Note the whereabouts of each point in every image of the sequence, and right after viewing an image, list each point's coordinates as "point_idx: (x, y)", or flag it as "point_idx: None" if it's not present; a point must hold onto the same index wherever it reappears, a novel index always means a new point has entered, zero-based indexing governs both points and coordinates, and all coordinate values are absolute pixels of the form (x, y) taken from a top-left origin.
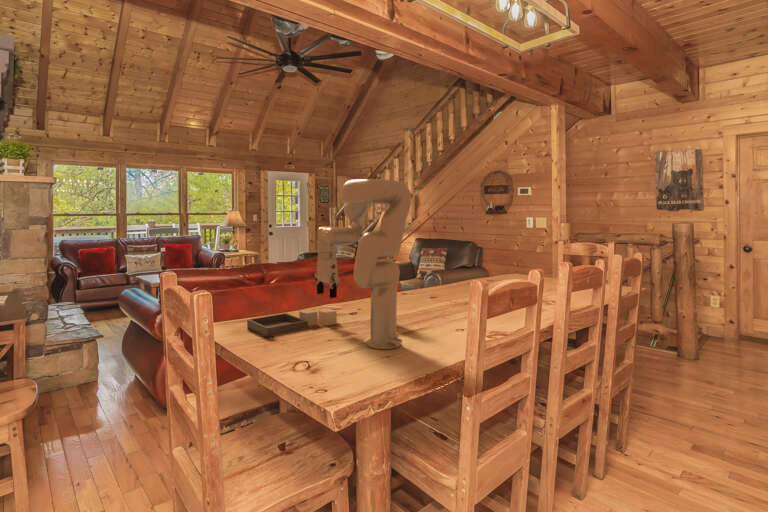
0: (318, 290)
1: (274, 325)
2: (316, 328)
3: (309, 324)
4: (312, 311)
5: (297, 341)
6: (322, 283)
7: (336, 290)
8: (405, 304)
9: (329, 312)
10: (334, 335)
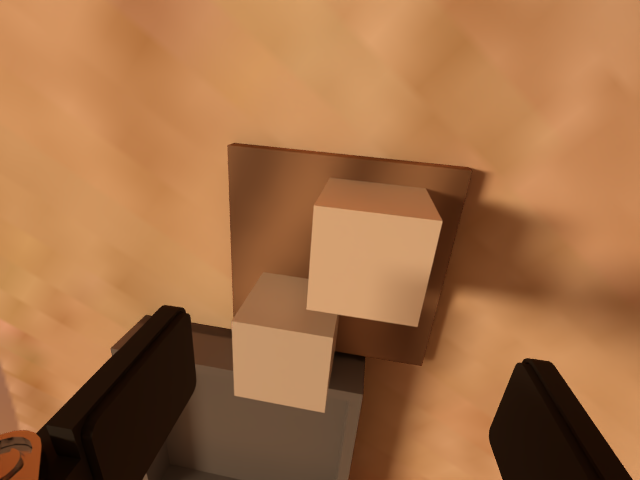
0: (170, 424)
1: (211, 412)
2: (413, 343)
3: (336, 337)
4: (300, 353)
5: (475, 473)
6: (45, 470)
7: (626, 476)
8: None
9: (424, 292)
10: (571, 336)
